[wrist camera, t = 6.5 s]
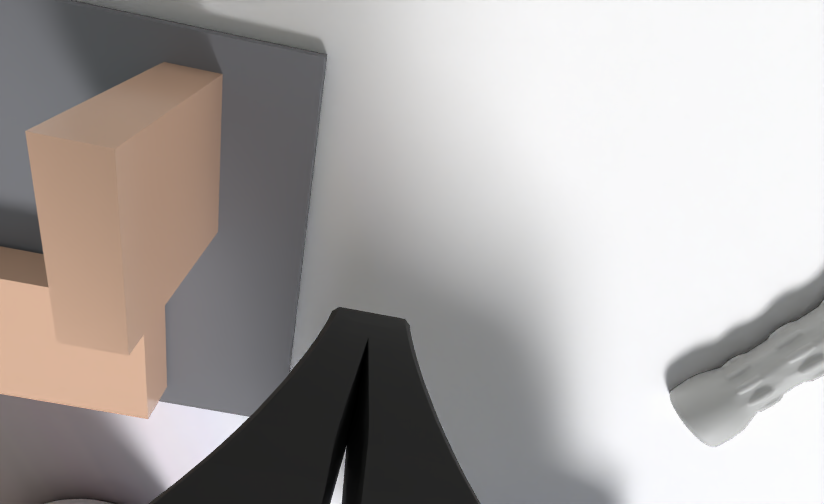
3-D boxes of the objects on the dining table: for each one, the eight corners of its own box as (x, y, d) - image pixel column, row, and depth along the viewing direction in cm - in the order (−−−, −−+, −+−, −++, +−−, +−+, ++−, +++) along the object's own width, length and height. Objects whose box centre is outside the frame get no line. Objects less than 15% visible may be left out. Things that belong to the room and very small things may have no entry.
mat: (327, 54, 16) (324, 57, 15) (284, 414, 23) (281, 422, 22) (-208, -60, 15) (-224, -59, 14) (-81, 351, 22) (-90, 358, 21)
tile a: (142, 304, 17) (-60, 267, 17) (147, 418, 20) (-29, 389, 20) (166, 273, 19) (-19, 239, 19) (168, 383, 21) (5, 355, 21)
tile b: (222, 74, 16) (114, 148, 10) (218, 231, 18) (128, 355, 13) (158, 60, 16) (15, 129, 10) (161, 220, 18) (49, 342, 13)
